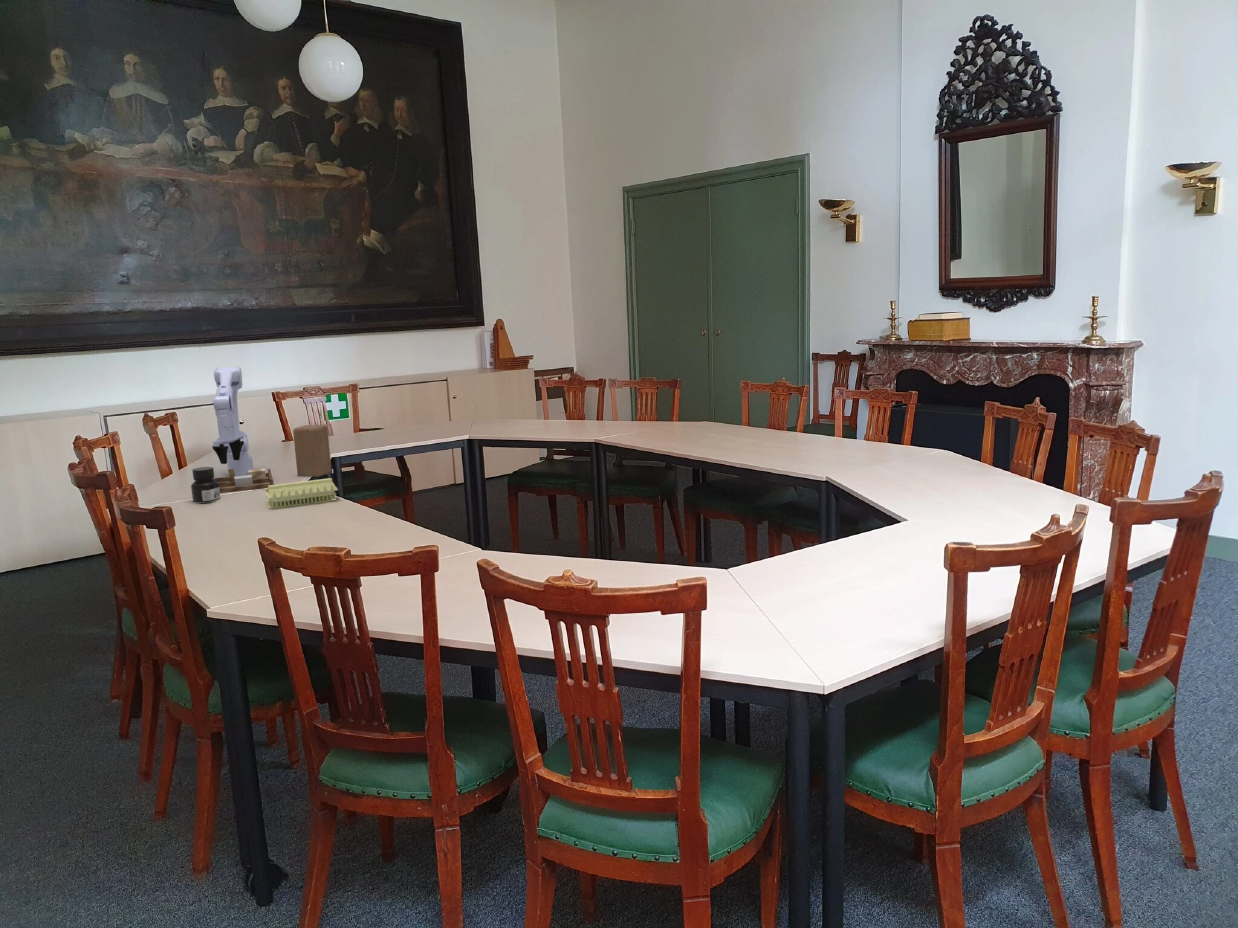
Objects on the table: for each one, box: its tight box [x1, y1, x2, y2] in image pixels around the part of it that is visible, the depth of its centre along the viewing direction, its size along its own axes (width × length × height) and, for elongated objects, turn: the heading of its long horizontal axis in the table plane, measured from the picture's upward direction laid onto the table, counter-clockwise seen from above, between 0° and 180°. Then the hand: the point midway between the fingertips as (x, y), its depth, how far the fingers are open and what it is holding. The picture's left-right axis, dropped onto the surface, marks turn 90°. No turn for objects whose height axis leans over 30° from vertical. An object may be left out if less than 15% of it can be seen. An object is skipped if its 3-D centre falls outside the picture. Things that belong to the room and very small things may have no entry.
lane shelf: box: [213, 468, 274, 494], centre depth 333 cm, size 24×24×4 cm
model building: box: [264, 477, 339, 510], centre depth 306 cm, size 25×14×7 cm, turn 117°
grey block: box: [234, 474, 253, 487], centre depth 328 cm, size 6×5×4 cm
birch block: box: [227, 468, 267, 482], centre depth 338 cm, size 13×5×5 cm, turn 114°
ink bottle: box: [190, 466, 221, 505], centre depth 309 cm, size 10×9×12 cm
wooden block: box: [292, 424, 332, 477], centre depth 348 cm, size 10×10×20 cm
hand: (230, 461), depth 335 cm, fingers open, 7 cm apart
